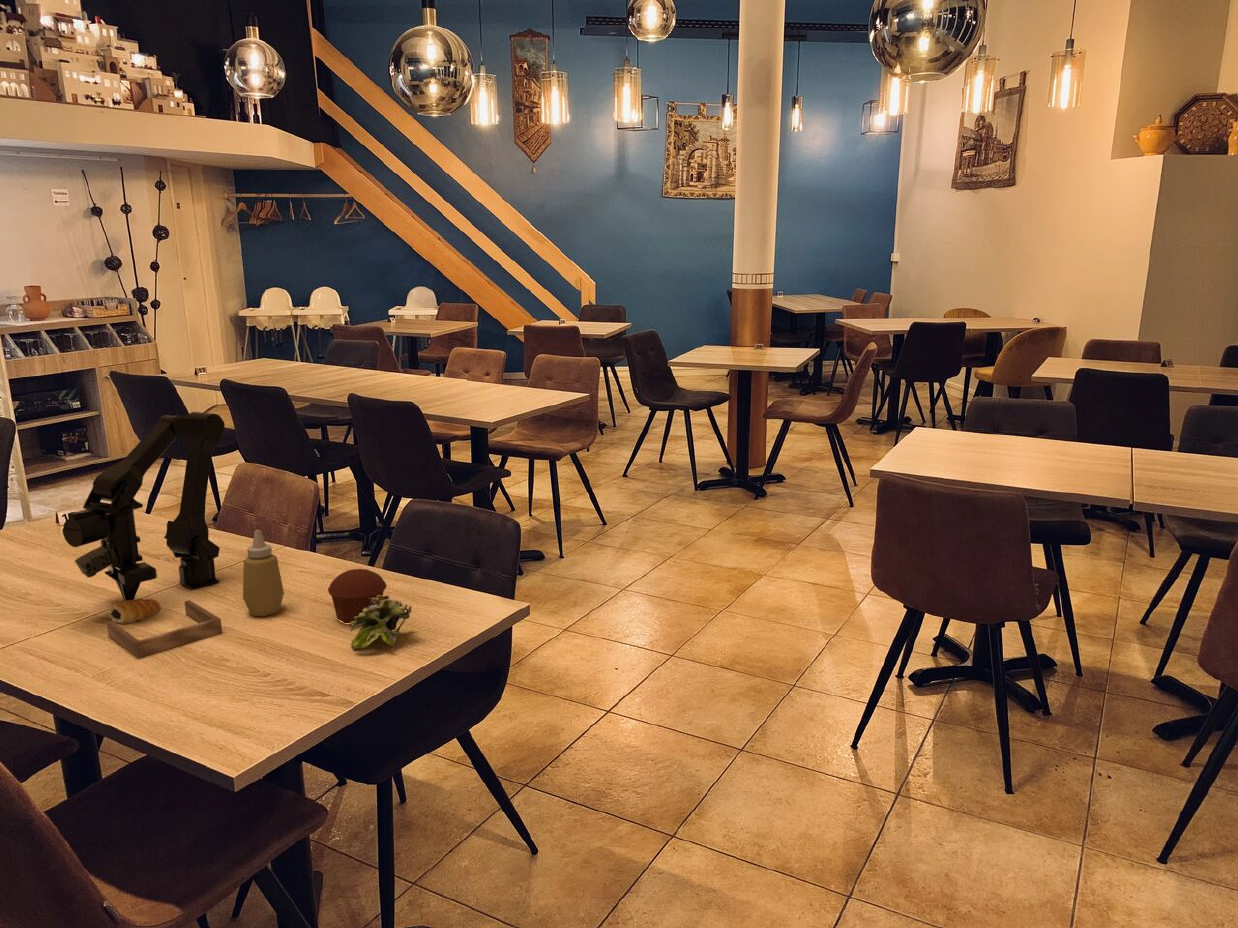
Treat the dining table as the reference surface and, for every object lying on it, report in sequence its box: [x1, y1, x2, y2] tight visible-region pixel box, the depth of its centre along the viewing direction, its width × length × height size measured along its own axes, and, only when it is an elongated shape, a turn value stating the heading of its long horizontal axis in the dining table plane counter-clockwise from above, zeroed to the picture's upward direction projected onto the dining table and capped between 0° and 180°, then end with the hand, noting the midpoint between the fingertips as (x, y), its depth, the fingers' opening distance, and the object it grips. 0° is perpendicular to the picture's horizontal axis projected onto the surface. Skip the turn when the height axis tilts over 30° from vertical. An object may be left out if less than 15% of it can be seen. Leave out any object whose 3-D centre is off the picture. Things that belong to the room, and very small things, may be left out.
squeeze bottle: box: [242, 529, 285, 617], centre depth 188 cm, size 8×8×18 cm
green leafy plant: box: [349, 594, 412, 651], centre depth 174 cm, size 11×11×12 cm
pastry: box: [108, 598, 162, 625], centre depth 187 cm, size 9×7×4 cm
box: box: [106, 599, 223, 659], centre depth 178 cm, size 16×14×3 cm
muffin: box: [327, 568, 388, 623], centre depth 186 cm, size 12×11×10 cm
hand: (129, 603), depth 190 cm, fingers closed
